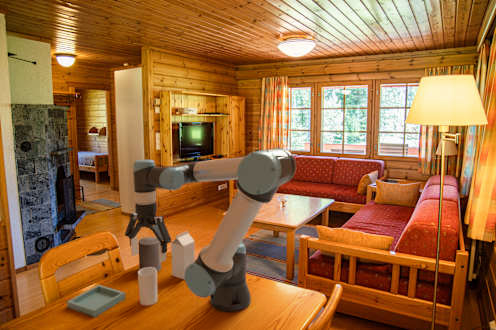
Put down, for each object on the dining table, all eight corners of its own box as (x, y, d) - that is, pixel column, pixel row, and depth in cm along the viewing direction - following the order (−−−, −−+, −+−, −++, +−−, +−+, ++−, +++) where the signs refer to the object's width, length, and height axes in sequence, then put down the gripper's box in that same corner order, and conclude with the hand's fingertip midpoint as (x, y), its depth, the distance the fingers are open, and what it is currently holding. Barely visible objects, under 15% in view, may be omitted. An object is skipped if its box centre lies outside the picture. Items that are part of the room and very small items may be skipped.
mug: (153, 306, 127) (151, 275, 125) (136, 305, 128) (134, 274, 126) (164, 293, 137) (163, 264, 135) (148, 291, 138) (147, 262, 136)
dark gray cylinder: (134, 272, 155) (133, 240, 152) (147, 263, 164) (146, 232, 162) (154, 275, 152) (152, 242, 150) (165, 266, 161) (164, 235, 159)
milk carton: (195, 273, 153) (194, 232, 150) (184, 280, 147) (183, 237, 145) (183, 269, 157) (182, 229, 154) (172, 276, 151) (170, 234, 148)
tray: (125, 298, 133) (124, 292, 132) (94, 317, 120) (94, 311, 120) (99, 290, 139) (98, 284, 138) (67, 307, 126) (67, 301, 126)
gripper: (179, 203, 125) (181, 259, 128) (128, 196, 136) (131, 248, 139) (166, 208, 118) (168, 267, 121) (112, 201, 129) (116, 255, 132)
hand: (148, 257), depth 130 cm, fingers open, 13 cm apart
